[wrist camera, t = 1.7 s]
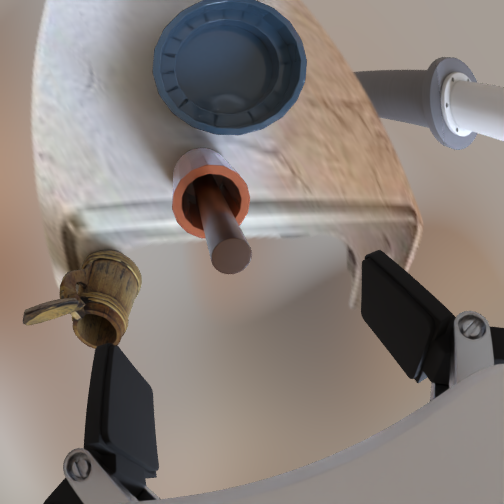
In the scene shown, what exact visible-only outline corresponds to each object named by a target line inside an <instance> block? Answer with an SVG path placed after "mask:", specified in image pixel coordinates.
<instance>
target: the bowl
mask: <svg viewBox="0 0 504 504" xmlns="http://www.w3.org/2000/svg"><path fill="white" fill-rule="evenodd" d="M306 66H307V59H306V55H305V51H304V47H303V43H302V41H301V38H300V37H299V35H298V34H297V32H296V30H295V29H294V27H293V26H292V24H291V23H290V21H288V20H287V19H286V18H285V17H284V16H282V15H281V14H280V13H279V12H278V11H276V10H275V9H274V8H272V7H270V6H268V5H265V4H263V3H261V2H258V1H256V0H203V1H201V2H198V3H196V4H194V5H193V6H191V7H189V8H187V9H185V10H183V11H182V12H180V13H179V14H178V15H177V16H176V17H175V18H174V19H173V20H172V21H171V22H170V23H169V24H168V25H167V26H166V27H165V28H164V30H163V32H162V34H161V36H160V38H159V41H158V43H157V45H156V47H155V50H154V60H153V76H154V79H155V83H156V86H157V89H158V93H159V95H160V96H161V98H162V99H163V101H164V102H165V103H166V105H167V106H168V107H169V109H170V110H171V111H172V113H173V114H175V115H176V116H178V117H179V118H180V119H182V120H183V121H185V122H186V123H187V124H189V125H190V126H192V127H194V128H197V129H200V130H203V131H206V132H210V133H213V134H216V135H242V134H246V133H250V132H253V131H257V130H261V129H264V128H265V127H267V126H269V125H270V124H272V123H274V122H275V121H277V120H279V119H280V118H282V117H283V116H284V115H285V114H286V112H287V111H288V110H289V109H290V108H291V107H292V106H293V105H294V104H295V102H296V101H297V99H298V97H299V94H300V92H301V90H302V88H303V85H304V83H305V78H306Z"/></svg>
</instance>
